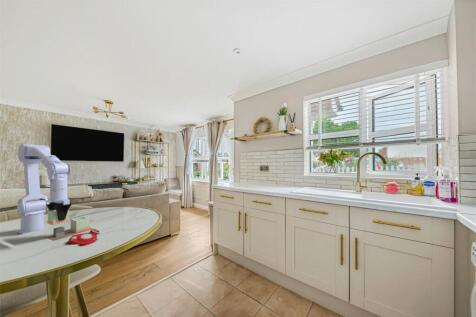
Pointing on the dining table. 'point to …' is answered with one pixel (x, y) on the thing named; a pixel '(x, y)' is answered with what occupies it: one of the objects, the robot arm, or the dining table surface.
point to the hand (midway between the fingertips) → (58, 219)
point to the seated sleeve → (80, 224)
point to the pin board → (67, 233)
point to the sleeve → (56, 218)
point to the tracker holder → (84, 238)
